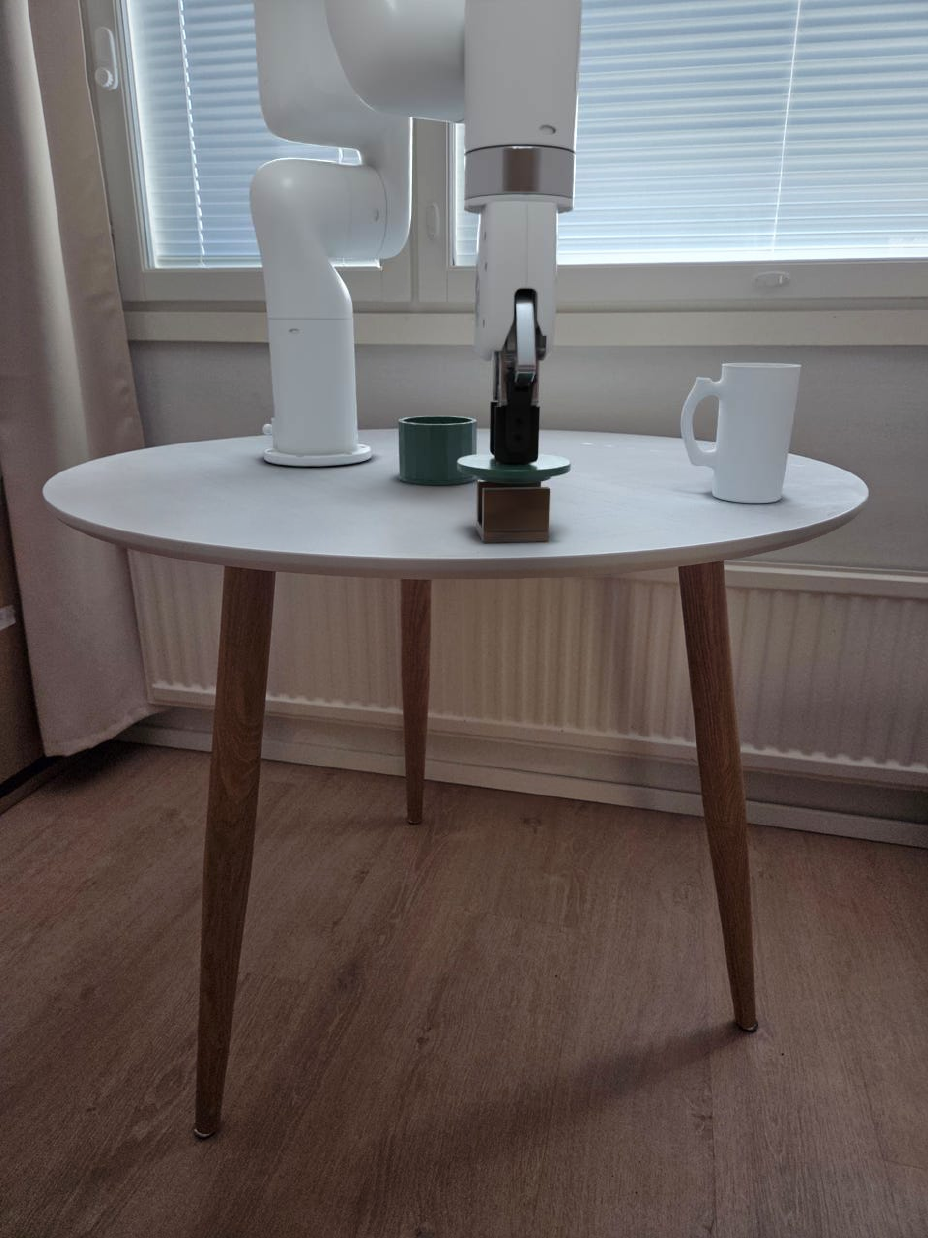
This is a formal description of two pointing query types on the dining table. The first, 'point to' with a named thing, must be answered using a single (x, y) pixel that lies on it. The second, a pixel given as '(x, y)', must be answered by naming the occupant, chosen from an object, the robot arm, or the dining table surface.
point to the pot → (435, 449)
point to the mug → (746, 429)
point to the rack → (512, 512)
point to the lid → (513, 468)
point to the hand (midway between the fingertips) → (513, 456)
